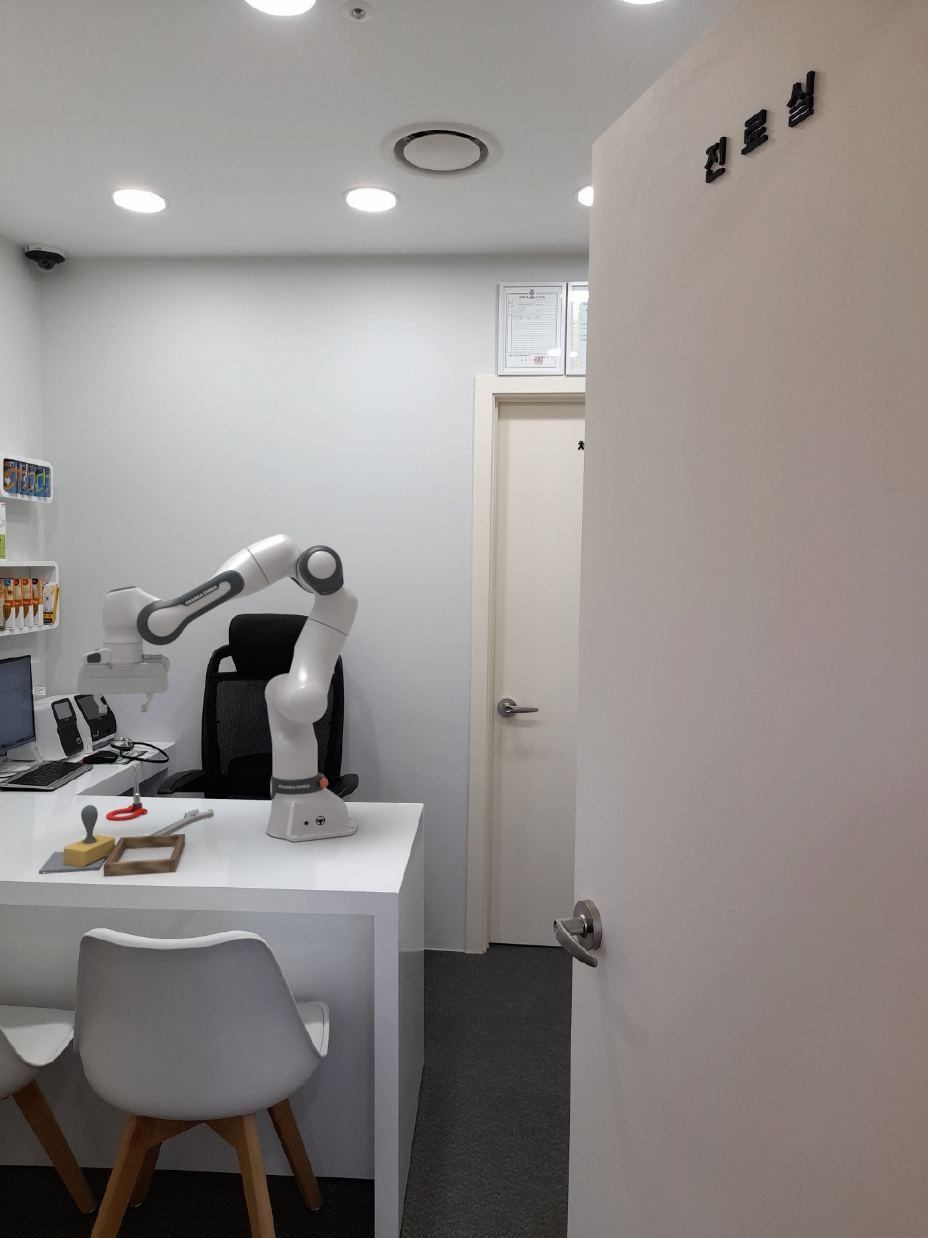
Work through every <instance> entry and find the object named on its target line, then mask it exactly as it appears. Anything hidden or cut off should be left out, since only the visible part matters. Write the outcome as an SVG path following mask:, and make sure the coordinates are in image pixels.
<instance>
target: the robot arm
mask: <svg viewBox="0 0 928 1238" xmlns="http://www.w3.org/2000/svg"><path fill="white" fill-rule="evenodd" d="M343 569H344V567H343V562H342V559H341V557H340V555H339V554H338V553H337V551H335V550H334V548H331V547H329V546H327V545H322V544H319V545H313V546H310V547H308V548H307V549H305V550H304V549H301V548H300V547H299V546H298V544H297V542H296V541H295V540H294V539H293V538H291V537H290V536H289V535H287V534H283V533H278V534H275V535H271V536H268V537H266V538H262V539H261V540H259V541H256V542H253V543H252V544H250V545H247V546H246V547H244V548H242V549H241V550H239V551H238V552H236V553H234V554H233V555H232V556H231V557H230V558H228V559H227V560H226V561H225V562H224V563H222V564H221V566H220V568H218V570H217V571H216V572H215V573H214V574H213V576H210V578H209V579H208V580H206V581H204V582H203V583H202V584H199V585H198V586H197V587H194V588H193V589H191V590H189V591H187V592H186V593H184V594H182V595H180V596H178V597H177V598H176V597H175V598H174V599H169V600H165V599H162V598H159V597H157V596H154V595H153V594H150V593H148V592H146V591H144V590H143V589H141V588H140V587H138V586H134V585H133V586H131V585H130V586H125V587H119V588H114V589H111V590H110V591H108V592H107V593H106V594H105V596H104V599H103V606H102V607H103V608H102V626H103V629H104V636H103V640H102V648H101V649H100V648H98V649H95V650H93V651H90V652H87V653H85V654H83V655H82V657H81V662H82V663H83V664H82V665H81V666H80V667H79V669H78V675H77V679H76V680H77V682H76V691H77V692H78V693H79V694H80V695H83V696H85V695H86V696H87V695H93V700H94V702H95V703H96V705H97V706H98V713H99V714H107V712H108V709H107V708H108V704H104V703H103V702H102V699H101V698H103V695H124V694H125V695H131V694H145V698H147V700H146V702H145V703H142V704H141V706H140V707H141V708H140V709H141V711H140V712H141V713H148V712H149V710H150V703H151V701H152V700H153V699H154V694H165V693H166V692H167V691H168V690H169V689H170V684H169V683H170V682H169V674H168V673H169V670H170V659H169V658H168V657H167V656H165V655H163V654H162V653H160V654H159V653H158V654H149V653H148V654H145V653H144V641H145V642H147V643H149V644H151V645H154V646H167V645H168V644H169V645H170V644H172V643H173V642H175V641H176V640H177V639H178V638H180V636H181V635H182V633H183V632H184V630H186V627H188V625H190V624H191V623H192V622H193V621H195V620H196V619H198V618H200V617H202V616H204V615H205V614H207V613H208V612H211V611H212V610H213V609H215V608H218V607H219V606H220V605H223V604H224V603H228V602H230V601H234V600H237V599H243V598H245V597H248V596H250V595H253V594H256V593H259V592H261V591H262V590H265V589H267V588H268V587H270V586H271V585H274V584H275V583H276V582H279V581H280V580H283V579H285V578H286V579H287V578H290V580H292V581H293V582H294V583H296V584H297V585H298V587H299V588H300V589H301V590H304V591H305V592H307V593H309V594H313V596H314V603H313V606H312V608H311V611H310V613H309V615H308V617H307V619H306V620H305V623H304V625H303V627H302V630H301V632H300V633H299V636H298V638H297V640H296V642H295V645H294V650H293V656H292V657H293V658H292V662H291V666H290V669H289V672H288V673H287V672H286V673H283V674H278V675H276V676H274V677H272V678H271V679H270V680H269V682H268V683H267V684H266V687H265V690H264V698H265V702H266V707H267V714H268V715H267V716H268V717H267V718H268V723H269V729H270V730H269V731H270V737H271V744H272V748H271V749H272V774H271V777H270V788H269V789H270V792H269V793H270V797H271V803H270V804H271V805H270V814H269V818H268V824H267V826H266V830H265V832H266V834H267V835H269V836H271V837H274V838H279V839H284V840H288V841H290V842H294V843H295V842H303V841H304V842H305V841H312V840H320V839H328V838H329V839H330V838H336V837H346V836H351V835H354V834H355V833H356V832H357V831H358V825H357V824H358V823H357V821H356V819H355V818H354V817H352V816H349V811H348V807H347V804H346V803H345V801H344V800H343V798H341V797H339V795H337V794H335V792H332V791H331V790H330V789H328V788H327V787H328V785H329V781H328V778H326V776H325V775H324V774H323V773H320V772H319V771H318V741H317V738H316V737H317V736H316V735H315V729H314V725H313V723H315V722H317V721H319V720H320V719H321V718H322V717H323V716H324V714H325V713H326V711H327V708H328V693H329V691H330V685H331V681H332V677H333V674H334V670H335V666H336V664H337V661H338V659H339V656H340V654H341V652H342V650H343V648H344V645H345V643H346V641H347V639H348V637H349V635H350V632H351V630H352V627H353V624H354V621H355V618H356V615H357V611H358V606H359V601H358V598H357V596H356V594H355V593H354V592H352V590H350V589H349V588H347V587H345V586H344V584H345V583H344V582H345V579H344V570H343Z"/></svg>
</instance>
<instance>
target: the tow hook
mask: <svg viewBox="0 0 928 1238" xmlns="http://www.w3.org/2000/svg"><path fill="white" fill-rule="evenodd" d="M137 769H138V768H137V765H133V773H132V776H133V777H132V778H133V795H132V796H133V803H132V804H131V805H128V806H127V807H126V808H125V807H124V808H119V809H115V810H112V811H109V812H108V813H106V815H105V818H106V820H108V821H111V822H113V821H114V822H122V821H129V820H133V819H135V818H137V817H140V815H146V814H147V813H148V809H146V808H143V802H141V793H140V790H139V789H140V787H139V772H138V770H137ZM131 812H132V813H131ZM125 813H131V814H128V815H122V816H121V815H120V816H116V815H119V814H125Z"/></svg>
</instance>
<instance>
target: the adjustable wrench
mask: <svg viewBox="0 0 928 1238" xmlns="http://www.w3.org/2000/svg"><path fill="white" fill-rule="evenodd" d="M212 816H213V817H214V809H211V808H209V809H208V810H207V811H202V812H199V808H198V809H196V808H195V809H193V810H190V811H189V810H188V812H185V813H184V814H183V818H182V819H179V820H177V821H175V822H173V823H171V824H169V825H167V826H165V827H163V828H161V829H159V830H157V831H155V832H153V833H151V834H148V835H147V836H154V835H171V834H173V833H175V832H177V831H179V830H181V829H183V828H184V827H187V826H189V825H191V824H193V823H196V822H199V820H200V821H202V820H201V819H204V820H206V819H205V818H208V819H211V818H213V817H212ZM210 817H211V818H210ZM170 833H171V834H170Z"/></svg>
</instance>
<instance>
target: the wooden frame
mask: <svg viewBox="0 0 928 1238" xmlns="http://www.w3.org/2000/svg"><path fill="white" fill-rule="evenodd" d="M185 846H186V834H185V833H176V834H175V833H174V834H173V833H171V834H169V835H154V836H148V835H138V836H122V837H120V838H119V839H118V841H117V842H116V843H115V847H114V849H113V850H112V852H111V854H110V855H108V856H107V858H106V860H105V861H104V863H103V877H112V876H113V877H114V876H128V875H142V874H143V875H144V874H158V873H159V874H161V873H174V872H176V870H177V867H178V864H179V862H180V859H181V856H182V853H183V852H184V848H185ZM167 847H168V848H170V847H173V849H172V853H171V855H170V857H169V858H161V859H146V860H142V859H141V860H127V861H120V859H121V857H122V856H123V854H124V852H125V851H126V850H134V849H152V848H153V849H155V848H167Z"/></svg>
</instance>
